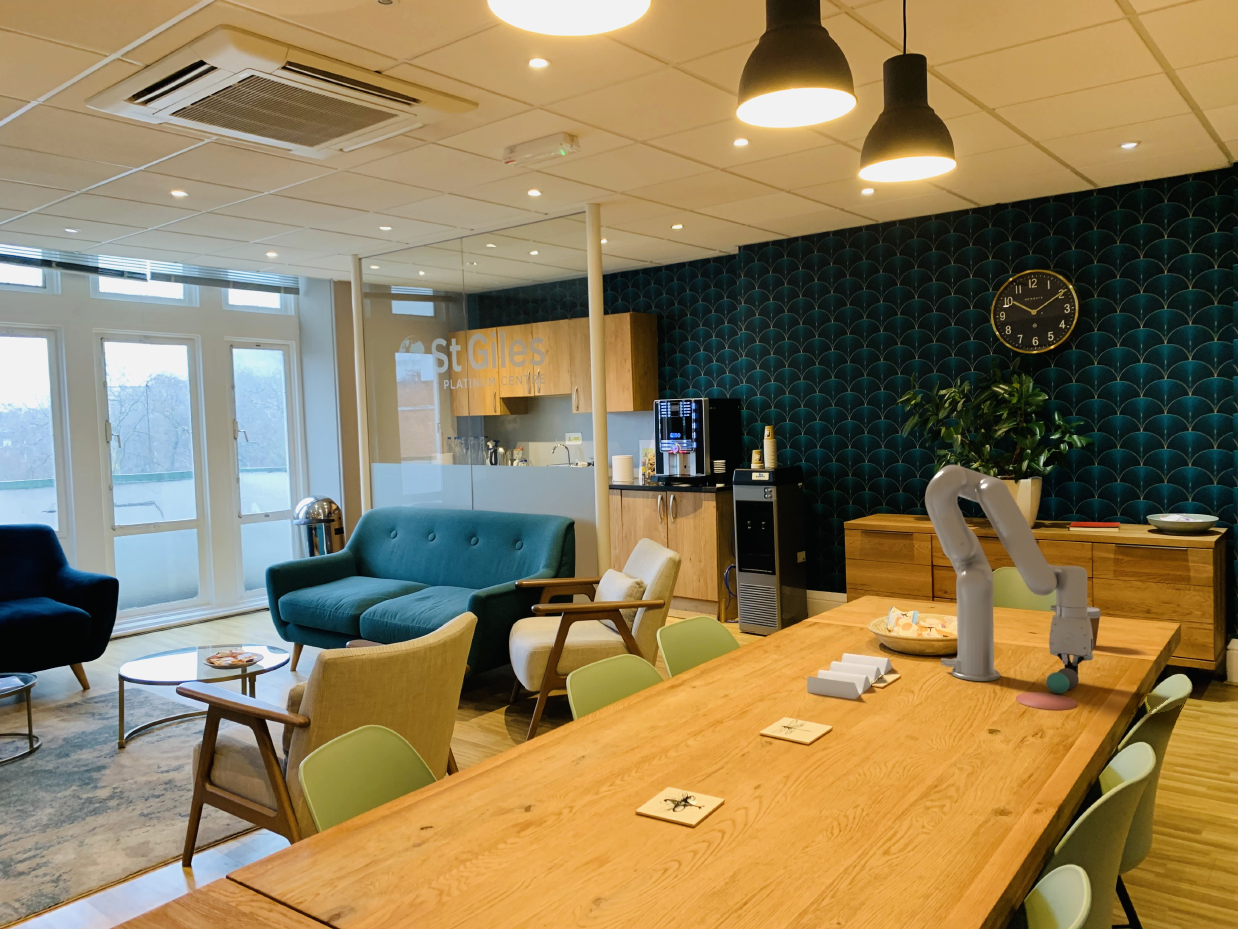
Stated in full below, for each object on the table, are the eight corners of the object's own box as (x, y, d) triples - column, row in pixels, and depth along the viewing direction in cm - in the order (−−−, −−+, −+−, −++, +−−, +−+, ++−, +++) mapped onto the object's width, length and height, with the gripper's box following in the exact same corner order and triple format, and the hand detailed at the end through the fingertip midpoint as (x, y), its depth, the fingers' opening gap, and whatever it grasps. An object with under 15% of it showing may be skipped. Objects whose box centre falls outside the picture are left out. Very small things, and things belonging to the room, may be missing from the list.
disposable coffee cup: (1093, 642, 285) (1093, 605, 284) (1106, 650, 276) (1106, 611, 275) (1062, 642, 286) (1062, 605, 285) (1074, 650, 276) (1074, 612, 276)
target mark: (1015, 706, 224) (1015, 705, 224) (1015, 691, 237) (1015, 690, 237) (1078, 712, 218) (1078, 712, 218) (1074, 696, 231) (1074, 695, 231)
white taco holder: (892, 669, 263) (892, 652, 263) (855, 702, 234) (854, 682, 233) (849, 664, 270) (849, 647, 270) (807, 695, 241) (807, 676, 240)
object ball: (1046, 695, 233) (1046, 674, 233) (1045, 689, 238) (1045, 669, 238) (1070, 697, 231) (1070, 676, 230) (1069, 691, 236) (1068, 670, 235)
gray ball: (1063, 669, 242) (1061, 689, 241) (1052, 665, 239) (1050, 686, 238) (1083, 671, 237) (1081, 692, 236) (1072, 667, 235) (1070, 688, 233)
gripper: (1037, 610, 244) (1037, 676, 245) (1097, 618, 234) (1097, 687, 235) (1047, 606, 249) (1046, 671, 250) (1105, 613, 239) (1105, 680, 240)
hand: (1071, 678), depth 242 cm, fingers closed
